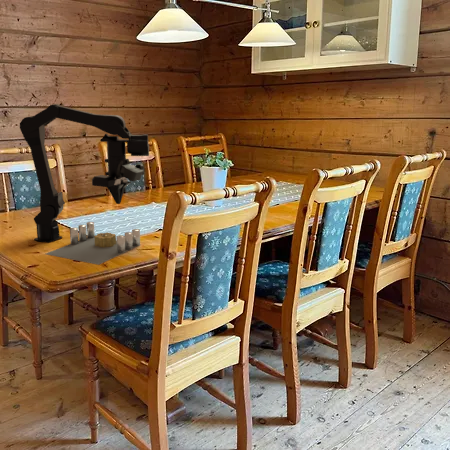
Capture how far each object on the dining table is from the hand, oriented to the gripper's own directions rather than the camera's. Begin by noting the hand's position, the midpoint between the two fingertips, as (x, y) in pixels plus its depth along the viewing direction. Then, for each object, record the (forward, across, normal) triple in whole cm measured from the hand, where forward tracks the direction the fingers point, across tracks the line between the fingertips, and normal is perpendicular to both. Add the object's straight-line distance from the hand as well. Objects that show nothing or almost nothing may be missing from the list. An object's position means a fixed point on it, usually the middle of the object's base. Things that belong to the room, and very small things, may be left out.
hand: (118, 203), depth 160 cm
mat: (+12, -13, 0) cm, 18 cm away
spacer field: (+12, -8, 0) cm, 14 cm away
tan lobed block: (+12, -8, 0) cm, 14 cm away
